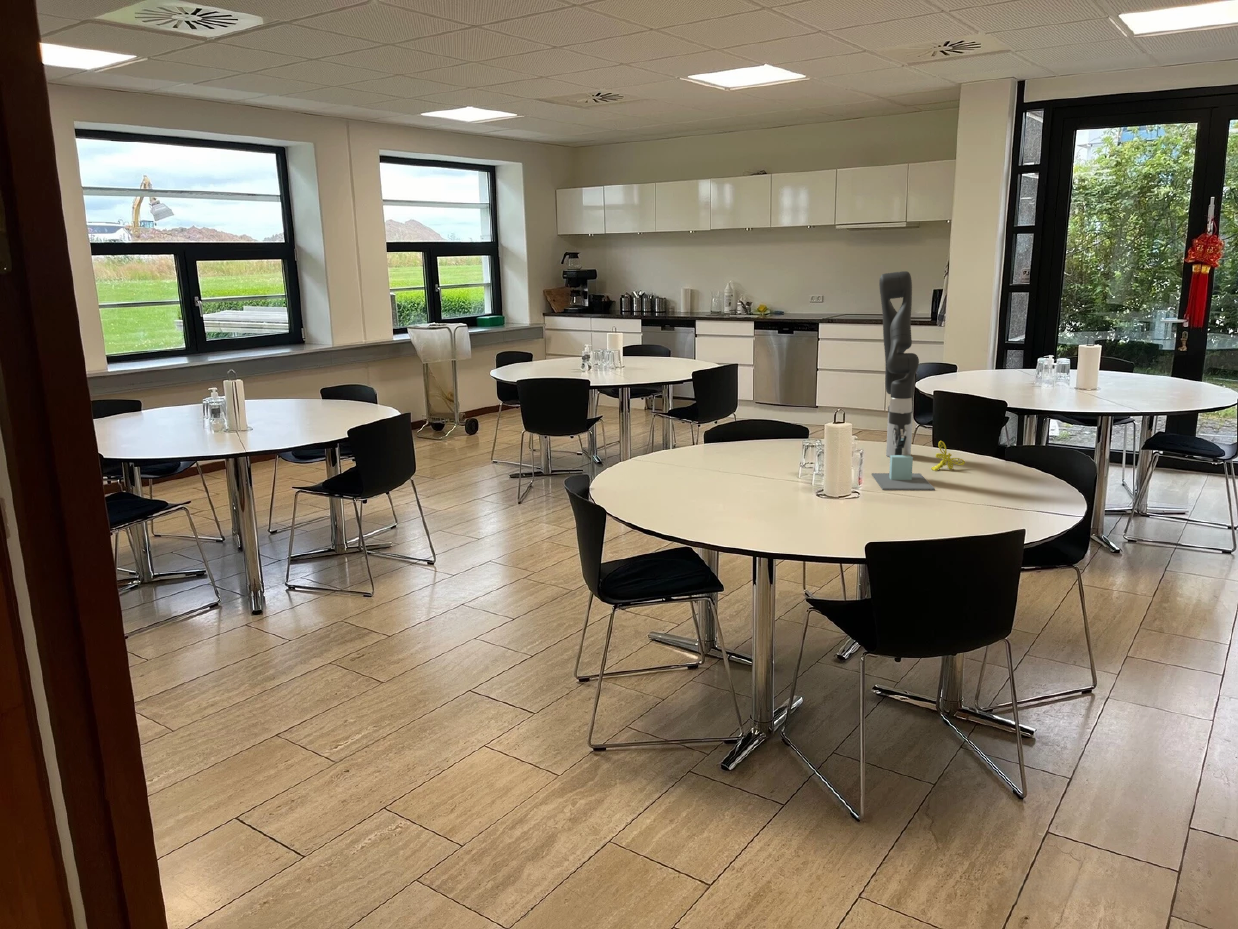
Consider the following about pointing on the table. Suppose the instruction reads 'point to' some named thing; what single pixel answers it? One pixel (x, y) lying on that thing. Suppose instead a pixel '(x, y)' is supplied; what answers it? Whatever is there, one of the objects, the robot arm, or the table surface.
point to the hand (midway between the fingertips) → (898, 458)
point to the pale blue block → (901, 467)
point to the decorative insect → (944, 456)
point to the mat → (902, 482)
